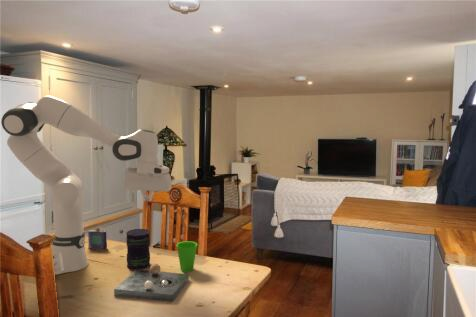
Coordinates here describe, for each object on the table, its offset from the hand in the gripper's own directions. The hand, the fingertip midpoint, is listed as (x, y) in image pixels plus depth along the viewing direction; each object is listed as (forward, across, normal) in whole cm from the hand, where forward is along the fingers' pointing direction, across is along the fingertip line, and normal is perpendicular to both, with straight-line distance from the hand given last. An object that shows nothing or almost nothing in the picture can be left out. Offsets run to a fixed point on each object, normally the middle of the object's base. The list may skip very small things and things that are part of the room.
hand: (147, 200), depth 155 cm
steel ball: (+28, +14, -18) cm, 36 cm away
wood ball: (+25, +8, -12) cm, 28 cm away
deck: (+29, +10, -18) cm, 36 cm away
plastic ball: (+25, +11, -24) cm, 37 cm away
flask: (+29, -34, +17) cm, 48 cm away
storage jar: (+29, -5, +1) cm, 30 cm away
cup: (+29, +17, +1) cm, 34 cm away
